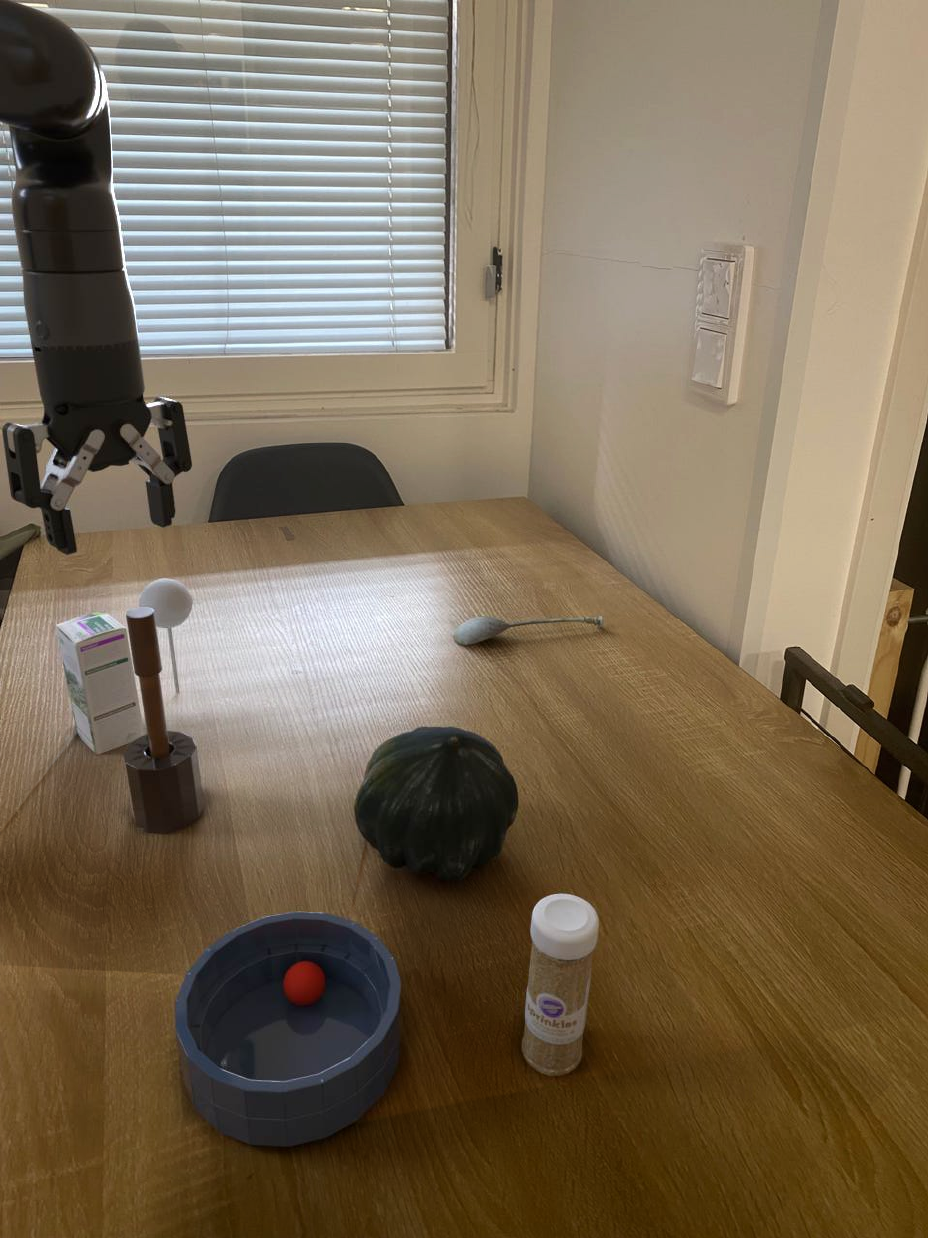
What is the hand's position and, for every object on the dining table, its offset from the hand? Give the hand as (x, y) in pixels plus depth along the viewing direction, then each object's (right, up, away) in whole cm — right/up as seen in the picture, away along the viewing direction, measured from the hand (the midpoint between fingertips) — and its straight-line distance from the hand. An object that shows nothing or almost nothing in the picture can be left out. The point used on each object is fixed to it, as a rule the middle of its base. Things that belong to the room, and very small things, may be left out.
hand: (115, 537), depth 75 cm
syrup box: (-11, -20, +28) cm, 36 cm away
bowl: (+16, -38, -8) cm, 42 cm away
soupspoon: (+38, -9, +55) cm, 67 cm away
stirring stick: (-1, -26, +16) cm, 30 cm away
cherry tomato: (+16, -35, -5) cm, 39 cm away
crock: (-1, -26, +16) cm, 31 cm away
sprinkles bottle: (+35, -39, -7) cm, 53 cm away
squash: (+26, -29, +13) cm, 41 cm away
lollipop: (-7, -16, +38) cm, 42 cm away
